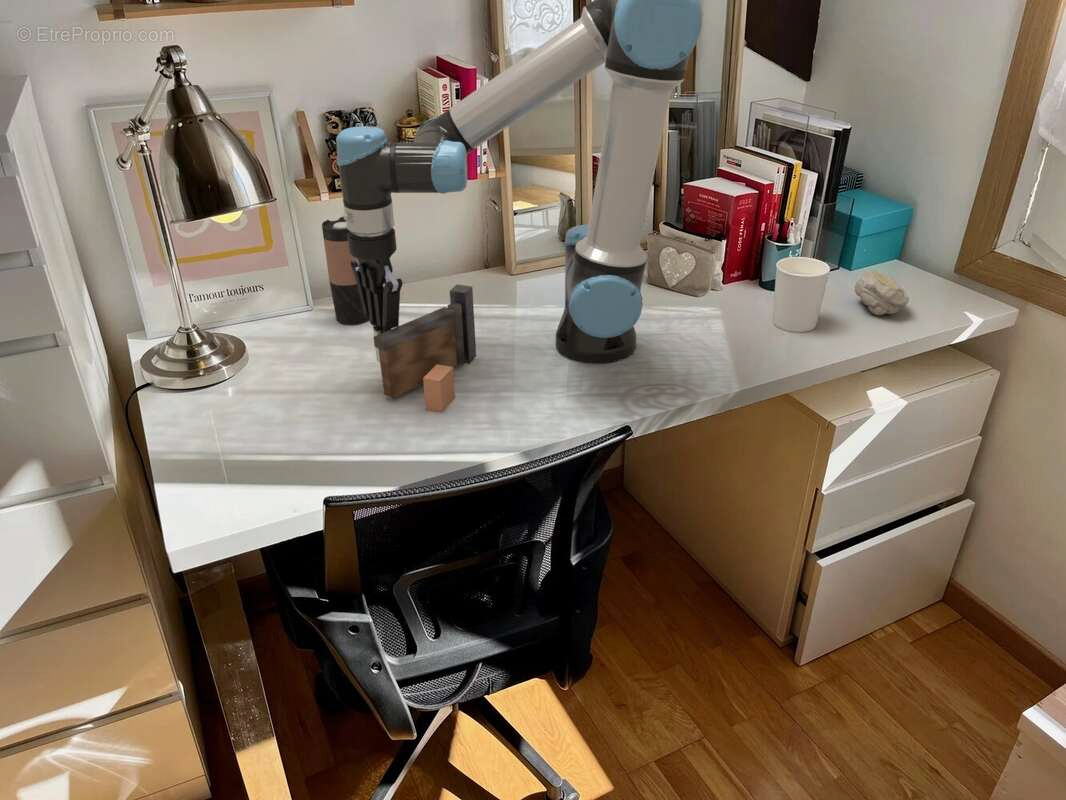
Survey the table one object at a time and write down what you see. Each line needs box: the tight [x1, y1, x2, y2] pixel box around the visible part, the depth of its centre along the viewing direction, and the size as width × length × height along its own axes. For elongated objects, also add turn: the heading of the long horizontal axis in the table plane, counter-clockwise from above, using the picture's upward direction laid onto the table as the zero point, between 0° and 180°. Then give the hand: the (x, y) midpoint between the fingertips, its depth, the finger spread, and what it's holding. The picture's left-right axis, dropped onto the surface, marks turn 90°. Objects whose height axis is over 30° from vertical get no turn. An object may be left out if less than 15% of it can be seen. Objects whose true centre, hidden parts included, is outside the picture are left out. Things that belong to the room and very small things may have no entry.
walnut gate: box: [373, 303, 466, 399], centre depth 147 cm, size 18×3×11 cm, turn 137°
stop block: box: [423, 364, 456, 413], centre depth 142 cm, size 3×5×6 cm, turn 159°
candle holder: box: [772, 256, 831, 333], centre depth 165 cm, size 10×10×12 cm
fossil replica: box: [854, 269, 910, 316], centre depth 171 cm, size 12×8×10 cm
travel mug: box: [321, 216, 370, 326], centre depth 169 cm, size 8×8×20 cm
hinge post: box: [449, 284, 477, 365], centre depth 154 cm, size 3×3×14 cm
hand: (385, 359), depth 148 cm, fingers closed
